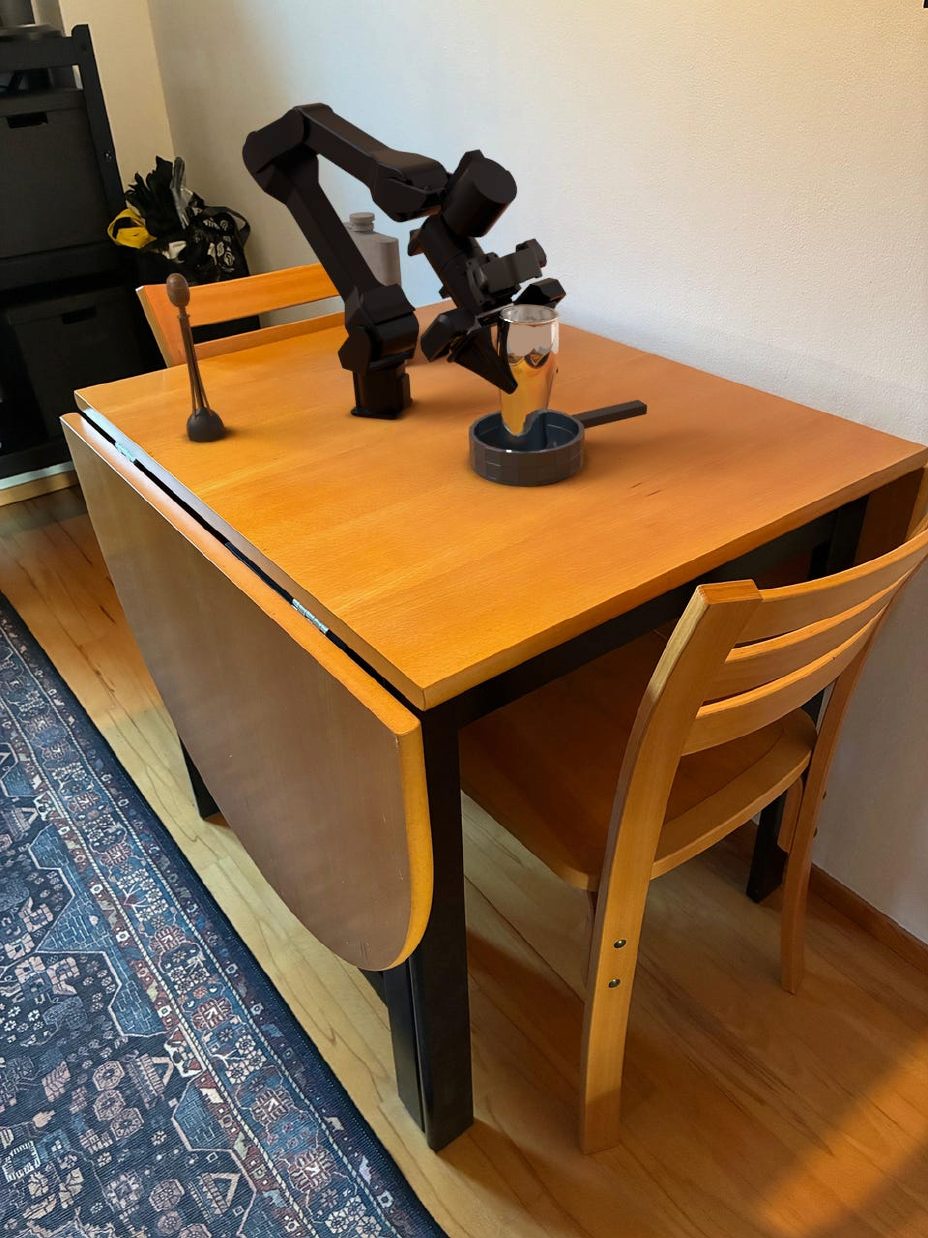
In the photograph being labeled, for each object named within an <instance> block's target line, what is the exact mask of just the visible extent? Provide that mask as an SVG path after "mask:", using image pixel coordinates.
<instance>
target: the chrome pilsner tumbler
mask: <svg viewBox="0 0 928 1238" xmlns="http://www.w3.org/2000/svg"><path fill="white" fill-rule="evenodd" d="M559 318H560V313H559V312H558V311H557V310H556V309H552V308H549V307H545V306H539V305H514V306H509V307H505V308H503V309H501V310H500V311H499V312H498V322H497V326H496V334H495V346H494V348H495V350H496V351H497V353H498V355H499V357H500V358H501V360H502V362H503V364H504V365H505V367H506V369H507V371H508V372H509V374H510V376H511V378H512V380H513V382H514V385H515V387H516V390H515V391H514V392H513V393H512V394H507V393H506V392H504V391H503V390H501V389H500V388H498V387H497V389H498V395H499V402H500V410H501V421H500V427H499V431H498V436H497V444H498V446H499V447H500V448H502V449H503V450H512V451H540V450H545V449H546V448H547V447H548V446H549V433H548V425H547V414H548V409H549V406H550V401H551V396H552V392H553V388H554V384H555V380H556V375H557V374H556V371H557V367H558V363H559V353H560V326H559V325H560V322H559V321H560V319H559Z"/></svg>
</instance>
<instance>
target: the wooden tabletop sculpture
mask: <svg viewBox="0 0 928 1238" xmlns="http://www.w3.org/2000/svg"><path fill="white" fill-rule="evenodd" d="M189 287H190V286H189V283H188V281H187V279H186V278H185V277H184V276H183V275H182V274H181V273H177V272H175V273H170V274H169V276H168V277H167V278H166V284H165V288H166V295H167V297H168V299H169V301H170V303H171V304H172V305H173V307H175V308H177V309H178V313H179V314H178V315H176V318H177V319H178V324H179V329H180V334H181V338H182V344H183V350H184V354H185V359H186V364H187V371H188V377H189V378H188V379H189V385H190V394H191V408H192V410H191V411H192V412H191V414H190V415H189V417H188V418H187V421H186V425H185V427H186V435H187V438H188V440H189V441H191V442H196V443H206V442H207V443H208V442H213V441H216V440H219V439H222V438H223V437H224V436H225V435H227V431H226V426H225V423H224V422H223V420H222V418H221V416H220V415H219V414H218V412H216V411H214V410H213V409H211V407H210V403H209V400H208V398H207V395H206V391H205V388H204V384H203V380H202V375H201V372H200V371H201V370H200V368H199V363H198V358H197V353H196V348H195V342H194V339H193V333H192V327H191V322H190V317H191V314H190V313H187V308H186V307H188V305H189V304H190V301H191V291H190V288H189Z"/></svg>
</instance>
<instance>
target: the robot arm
mask: <svg viewBox="0 0 928 1238" xmlns="http://www.w3.org/2000/svg"><path fill="white" fill-rule="evenodd" d="M319 155H320V156H322V157H323V158H325V160H327V161H329V162H331V163H332V164H333V165H335V166H336V167H338V168H340V169H341V170H343V171H344V172H346V173H347V174H348V175H350V176H352V177H353V178H355V179H356V180H357V181H359V182H360V183H362V184H363V185H364V186H365V187H367V189H369V193H370V196H371V200H372V202H373V203H374V204H375V205H376V206H377V208H379V209H380V210H381V211H382V212H383V213H384V214H385V216H387V217H388V218H389V219H390V220H392V221H393V222H395V223H399V224H403V223H407V222H411V221H414V220H418V219H423V218H425V220H424V221H423V222H422V224H421V225H420V227H419V228H414V229H410V230H409V234H408V235H409V238H408V239H409V240H408V244H407V249H406V253H407V256H408V257H411V258H412V257H414V256H415V257H416V256H418V255H422V254H423V255H424V257H425V259H426V260H427V261H428V263H429V265H430V267H431V268H432V269H433V272H434V273H435V274H436V276H437V278H438V279H439V281H440V283H441V284H442V286H441V288H439V290H438V291H437V293H438V294H439V296H440V297H441V299H442V300H445V299H449V298H450V299H451V301H452V302H453V304H454V305H455V308H452V309H450V310H447V311H444V312H439V314H438V315H437V316H436V317H435V318H434V319H433V321H432V322H431V323H430V324H429V326H428V327H427V328H426V329H425V331H424V332H423V333H422V334H421V336H420V337H419V334H420V322H419V319H418V317H417V315H416V314H415V311H417V308H416V307H415V306H413V305H412V303H411V302H410V301H409V299H408V297H407V295H406V293H405V291H404V289H403V287H402V288H401V287H400V286H399V285H398V284H397V283H395V284H392V285H388V286H385V285H383V284H382V283H380V282H379V281H378V280H377V279H376V277H375V276H374V274H373V272H372V271H371V269H370V267H369V266H368V264H367V262H366V261H365V259H364V257H363V256H362V254H361V252H360V251H359V249H358V248H357V246H356V244H355V243H354V241H353V239H352V238H351V236H350V234H349V233H348V231H347V229H346V228H345V226H344V224H343V223H344V222H343V221H342V220H341V217H340V215H339V214H338V213H337V211H336V209H335V208H334V206H333V205H332V203H331V200H330V199H329V197H328V196H327V195H326V192H325V191H324V189H323V187H322V186H321V184H320V159H319V157H318V156H319ZM241 156H242V157H241V158H242V161H243V164H244V166H245V168H246V170H247V171H248V173H249V175H250V176H251V177H252V179H253V180H254V182H256V184H257V185H258V186H259V188H260V189H261V190H262V192H264V193H265V194H266V195H267V196H270V197H271V198H273V199H274V200H276V201H277V202H279V203H281V204H283V205H284V206H285V207H286V208H287V210H288V211H289V213H290V214H291V217H292V218H293V220H294V221H295V223H296V225H297V227H298V228H299V229H300V231H301V233H302V235H303V237H304V238H305V239H306V242H307V243H308V245H309V247H310V248H311V250H312V251H313V253H314V255H315V256H316V258H317V260H318V261H319V263H320V264H321V266H322V268H323V270H324V271H325V273H326V275H327V276H328V277H329V280H330V281H331V282H332V284H333V287H334V288H335V290H336V291H337V293H338V294H339V296H340V298H341V299H342V301H343V303H344V328H345V331H346V333H347V335H348V336H347V338H346V339H345V340H344V342H343V343H342V345H341V347H339V349H338V351H337V356H338V359H339V362H340V365H341V368H342V369H344V370H346V371H349V372H351V374H352V383H353V392H354V393H353V394H354V401H355V403H354V404H355V405H354V407H353V408H352V409H351V410H350V414H351V415H352V416H360V417H368V418H369V417H370V418H380V419H388V420H389V419H391V420H395V419H398V418H399V416H401V415H402V413H404V412H405V411H406V409H407V408H409V407H410V406H411V405H412V404H413V402H414V398H412V393H411V379H410V373H408V372H407V371H406V365H405V360H407V361H408V360H412V359H415V355H416V350H417V349H416V348H417V344H418V340H419V339H420V350H421V352H422V353H423V356H424V357H425V358H426V360H427V362H428V363H430V364H431V363H434V362H436V361H439V360H441V359H444V358H446V361H447V362H448V363H449V364H452V363H455V364H456V365H458V366H460V367H463V368H465V369H466V370H468V371H470V372H472V373H473V374H475V375H477V376H479V377H481V378H482V379H483V380H485V381H487V382H488V383H490V384H492V385H493V386H495V387H496V388H497V389H498V388H500V389H501V390H503V391H504V392H506V393H507V394H512V393H513V392H514V391H515V390H516V387H515V385H514V382H513V380H512V378H511V376H510V374H509V372H508V371H507V369H506V367H505V365H504V364H503V362H502V360H501V358H500V357H499V355H498V353H497V351H496V350H495V346H494V344H493V337H492V328H494V327H497V322H498V312H499V311H500V310H501V309H503V308H505V307H509V306H514V305H539V306H545V307H549V308H552V309H554V310H556V308H557V306H558V304H559V303H561V301H562V300H563V299H564V298H565V297H566V296H567V292H566V290H565V289H564V287H563V285H562V284H561V282H560V281H559V279H557V278H553V277H547V278H544V279H540V278H543V276H544V275H543V272H542V269H543V268H545V267H546V266H547V264H548V259H547V254H546V252H545V249H544V248H543V247H542V245H541V244H540V243H539V241H538V240H537V239H536V237H534V238H530V239H527V240H525V241H523V242H520V243H518V244H515V248H514V249H515V251H514V252H511V253H508V254H505V255H503V256H499V254H497V253H496V252H494V251H490V252H487V253H485V251H484V249H483V248H482V246H481V245H480V243H479V241H478V240H477V239H478V238H479V239H480V238H483V237H485V236H487V235H488V233H489V232H490V231H491V230H492V228H493V227H494V226H495V225H496V224H497V222H498V221H499V219H500V218H501V217H502V216H503V214H504V213H506V211H507V209H508V208H509V207H510V206H511V204H512V203H513V202H514V201H515V199H516V198H517V194H518V185H517V182H516V179H515V178H514V175H513V174H512V173H511V171H509V170H508V169H506V168H505V167H504V166H503V165H501V164H500V163H499V162H498V161H496V160H494V159H492V158H488V157H485V155H484V154H483V151H482V150H481V149H473V150H467V151H465V152H464V153H463V155H462V156H461V158H460V160H459V163H458V165H457V167H455V170H454V171H453V172H451V171H447V168H445V165H443V164H442V163H441V162H440V161H439V160H437V159H434V158H432V157H429V156H425V155H422V154H420V153H417V152H416V153H415V152H410V151H402V150H397V149H394V148H392V147H389V146H388V145H386V144H385V143H383V142H382V141H380V140H378V139H377V138H375V137H374V136H373V135H371V134H369V133H367V132H366V131H365V130H363V129H361V128H359V127H358V126H357V125H355V124H353V123H352V122H350V121H348V120H347V119H346V118H344V117H342V116H341V115H339V114H338V113H336V112H334V110H333V108H332V107H331V106H330V105H329V104H326V103H323V102H315V103H314V102H313V103H307V104H300V105H295V106H293V107H292V108H290V109H289V110H287V112H285V113H284V114H283V115H282V116H281V117H279V118H278V119H275V120H274V121H271V122H270V123H268V124H266V125H264V126H263V127H261V128H259V129H257V130H252V131H251V132H248V134H247V136H246V137H245V141H244V144H243V146H242V149H241ZM532 279H540V280H537V281H534V282H531V283H529V284H528V286H527V287H525V289H524V290H522V288H523V287H522V286H521V284H523V283H525V282H527V281H529V280H532ZM521 290H522V292H521V293H520V294H519V295H518V296H517V297H516V298H515V300H513V297H514V296H515V295H517V294H518V293H519V292H520V291H521ZM450 351H451V353H450ZM558 373H559V368H558V366H557V371H556V375H557V374H558Z"/></svg>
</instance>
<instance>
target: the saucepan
mask: <svg viewBox="0 0 928 1238" xmlns="http://www.w3.org/2000/svg"><path fill="white" fill-rule="evenodd" d="M571 415H572V414H569V413H567V412H564V411H559V410H555V409H551V408H548V414H547V425H548V433H549V446H548V447H547V448H546V449H545V450H540V451H512V450H503V449H502V448H500V447H499V446H498V444H497V436H498V431H499V427H500V421H501V409H500V410H497V411H493V412H491V413H487V414H485V415H483V416H481V417H479V418H477V419H475V420H474V421H473V422H472V424H471V425H470V426H469V427H468V448H469V449H468V450H469V452H468V453H469V463H470V464H469V465H470V468H471V469H472V471H473V473H475V474H476V475H478V476H479V477H481V478H483V479H484V480H487V481H489V482H492V483H496V484H501V485H506V486H514V487H537V486H545V485H550V484H554V483H559V482H562V481H564V480H567V479H569V478H571V477H573V476H574V475H576V474H577V473H578V472H580V470H581V469H582V467H583V465H584V460H585V439H586V438H585V436H586V434H585V433H586V429H584V426H583V424H582V423H581V422H580V421H579V420H577V418H574V417H572V416H571Z"/></svg>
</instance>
